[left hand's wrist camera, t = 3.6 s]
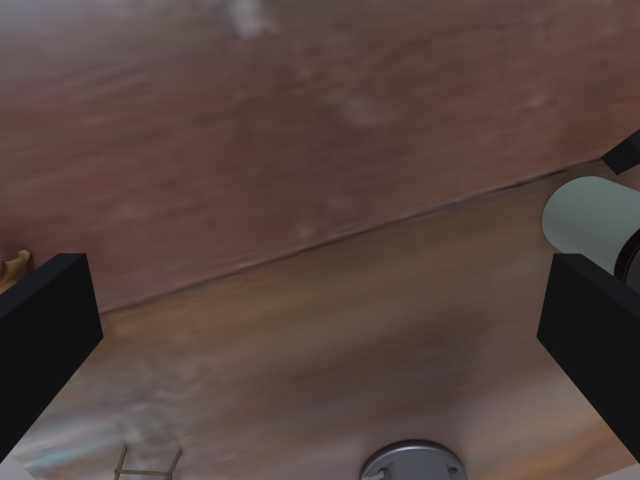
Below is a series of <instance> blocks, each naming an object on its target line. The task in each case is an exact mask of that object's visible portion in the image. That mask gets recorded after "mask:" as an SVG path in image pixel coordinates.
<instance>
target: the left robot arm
mask: <svg viewBox="0 0 640 480" xmlns="http://www.w3.org/2000/svg"><path fill="white" fill-rule="evenodd" d="M102 339H103V332H102V327H101V323H100V318H99V313H98V308H97V303H96V299H95V294H94V289H93V284H92V279H91V275H90V270H89V265H88V260H87V255H86V253H59V254H57V255H56V256H54V257H53V258H52V259H50V260H49V261H47V262H46V263H44V264H43V265H41V266H40V267H39V268H37V269H36V270H34V271H33V272H31V273H30V274H28V275H27V276H26V277H24V278H23V279H21V280H20V281H18V282H17V283H15V284H14V285H13V286H11V287H10V288H8V289H7V290H5V291H4V292H3V293H1V294H0V464H1V462H2V461H3V460H4V459H5V457H6V456H7V455H8V454H9V453H10V451H11V450H12V449H13V448H14V446H15V445H16V444H17V443H18V442H19V440H20V439H21V438H22V437H23V435H24V434H25V433H26V432H27V430H28V429H29V428H30V427H31V426H32V424H33V423H34V422H35V421H36V419H37V418H38V417H39V416H40V415H41V413H42V412H43V411H44V410H45V408H46V407H47V406H48V405H49V404H50V402H51V401H52V400H53V399H54V397H55V396H56V395H57V394H58V393H59V391H60V390H61V389H62V388H63V386H64V385H65V384H66V383H67V381H68V380H69V379H70V378H71V377H72V375H73V374H74V373H75V372H76V370H77V369H78V368H79V367H80V366H81V364H82V363H83V362H84V361H85V359H86V358H87V357H88V356H89V355H90V353H91V352H92V351H93V350H94V348H95V347H96V346H97V345H98V344H99V342H100V341H101V340H102ZM537 339H538V340H539V341H540V342H541V344H542V345H543V346H544V347H545V348H546V350H547V351H548V352H549V353H550V355H551V356H552V357H553V358H554V359H555V361H556V362H557V363H558V364H559V366H560V367H561V368H562V369H563V370H564V372H565V373H566V374H567V375H568V377H569V378H570V379H571V380H572V381H573V383H574V384H575V385H576V386H577V388H578V389H579V390H580V391H581V393H582V394H583V395H584V396H585V397H586V399H587V400H588V401H589V402H590V404H591V405H592V406H593V407H594V408H595V410H596V411H597V412H598V413H599V415H600V416H601V417H602V418H603V419H604V421H605V422H606V423H607V424H608V426H609V427H610V428H611V429H612V430H613V432H614V433H615V434H616V435H617V437H618V438H619V439H620V440H621V442H622V443H623V444H624V445H625V446H626V448H627V449H628V450H629V451H630V453H631V454H632V455H633V456H634V457H635V459H636V460H637V461H638V462H639V464H640V294H639V293H637V292H636V291H635V290H633V289H632V288H630V287H629V286H627V285H626V284H625V283H623V282H622V281H620V280H619V279H617V278H616V277H614V276H613V275H612V274H610V273H609V272H607V271H606V270H604V269H603V268H601V267H600V266H599V265H597V264H596V263H594V262H593V261H591V260H590V259H588V258H587V257H586V256H584V255H583V254H581V253H554V255H553V260H552V265H551V270H550V275H549V279H548V284H547V289H546V294H545V299H544V303H543V308H542V313H541V318H540V323H539V327H538V332H537ZM359 480H467V476H466V473H465V470H464V467H463V465H462V463H461V461H460V459H459V458H458V457H457V456H456V455H455V454H454V453H453V452H452V451H451V450H449V449H448V448H446V447H444V446H442V445H440V444H437V443H434V442H430V441H424V440H408V441H402V442H397V443H394V444H391V445H389V446H386V447H384V448H382V449H381V450H379V451H378V452H376V453H375V454H374V455H372V456H371V457H370V458H369V459H368V461H367V462H366V463H365V465H364V466H363V468H362V470H361V473H360V478H359Z"/></svg>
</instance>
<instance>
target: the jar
mask: <svg viewBox="0 0 640 480" xmlns="http://www.w3.org/2000/svg"><path fill="white" fill-rule="evenodd" d="M542 229H543V232H544V235H545V237H546V239H547V240H548V241H549V242H550V243H551V244H552V245H553V246H554V247H556V248H557V249H558V250H560V251H561V252H562V253H581V254H583V255H584V256H586V257H587V258H588V259H590V260H591V261H593V262H594V263H596V264H597V265H599V266H600V267H601V268H603V269H604V270H606V271H607V272H609V273H610V274H612V275H613V276H614V265H615V263H616V260H617V257H618V255H619V253H620V251H621V249H622V248H623V246H624V245H625V243H626V242H627V240H628V239H629V238H630V237H631V236H632V235H633V234H634V233H635V232H636V231H637V230H638V229H640V192H639V191H636V190H633V189H631V188H628V187H625V186H623V185H620V184H617V183H615V182H612V181H609V180H607V179H604V178H601V177H595V176H586V177H581V178H577V179H574V180H572V181H570V182H568V183H566V184H564V185H563V186H561V187H560V188H559V189H558V190H557V191H556V192H555V193H554V194H553V195H552V196H551V197H550V199H549V200H548V202H547V204H546V206H545V208H544V211H543V215H542Z"/></svg>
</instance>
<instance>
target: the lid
mask: <svg viewBox="0 0 640 480" xmlns="http://www.w3.org/2000/svg"><path fill="white" fill-rule="evenodd" d="M614 277H616V278H617V279H619V280H620V281H622V282H623V283H625V284H626V285H627V286H629V287H630V288H632V289H633V290H635V291H636V292H637V293H639V294H640V229H638V230H637V231H636V232H635V233H634V234H633V235H632V236H631V237H630V238H629V239H628V240H627V242H626V243H625V245H624V246H623V248H622V249H621V251H620V253H619V255H618V257H617V260H616V263H615V265H614Z"/></svg>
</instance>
